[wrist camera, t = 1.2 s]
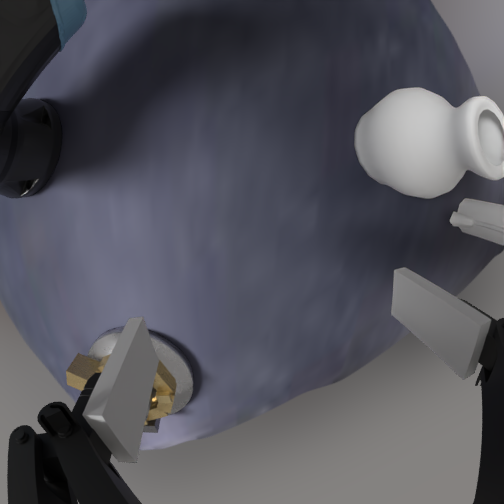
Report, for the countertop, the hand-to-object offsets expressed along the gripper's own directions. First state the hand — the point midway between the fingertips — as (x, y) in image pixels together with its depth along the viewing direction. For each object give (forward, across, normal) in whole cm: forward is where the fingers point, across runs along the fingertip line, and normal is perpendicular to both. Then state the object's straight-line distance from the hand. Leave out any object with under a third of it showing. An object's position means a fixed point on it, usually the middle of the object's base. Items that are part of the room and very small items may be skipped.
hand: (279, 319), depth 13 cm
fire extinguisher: (+24, +40, -3) cm, 47 cm away
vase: (+24, +23, +9) cm, 35 cm away
